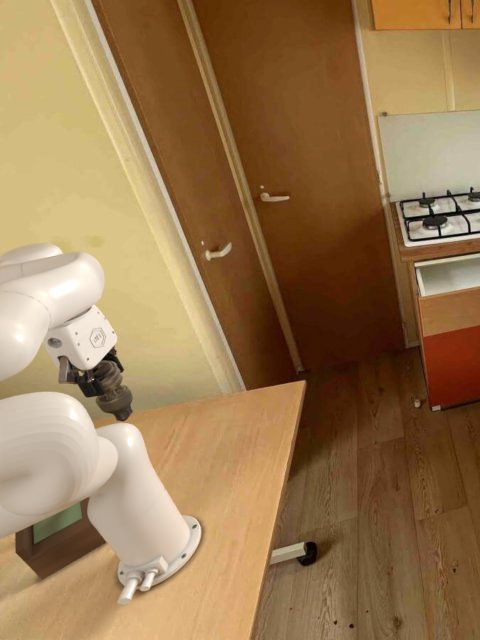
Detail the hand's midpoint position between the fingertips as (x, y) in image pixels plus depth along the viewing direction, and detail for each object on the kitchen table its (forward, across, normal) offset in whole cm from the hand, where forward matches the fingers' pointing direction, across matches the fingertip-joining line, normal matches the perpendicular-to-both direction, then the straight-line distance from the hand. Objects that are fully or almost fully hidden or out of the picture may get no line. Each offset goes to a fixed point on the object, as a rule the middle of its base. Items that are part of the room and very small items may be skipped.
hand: (105, 383), depth 85 cm
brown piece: (+25, -14, +8) cm, 30 cm away
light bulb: (+10, 0, 0) cm, 10 cm away
